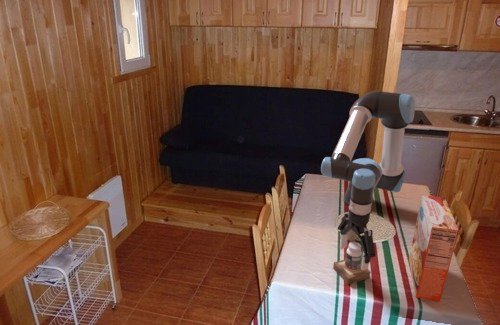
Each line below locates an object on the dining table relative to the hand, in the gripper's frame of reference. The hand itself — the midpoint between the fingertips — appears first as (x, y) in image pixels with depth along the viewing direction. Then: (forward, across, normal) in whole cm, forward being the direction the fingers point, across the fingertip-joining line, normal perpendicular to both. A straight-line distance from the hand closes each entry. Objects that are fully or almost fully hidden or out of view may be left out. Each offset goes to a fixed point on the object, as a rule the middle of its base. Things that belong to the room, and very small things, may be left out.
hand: (353, 258), depth 149 cm
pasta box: (+7, +13, +24) cm, 28 cm away
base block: (+7, 0, 0) cm, 7 cm away
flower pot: (+8, -21, +14) cm, 26 cm away
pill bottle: (+4, 0, 0) cm, 4 cm away
